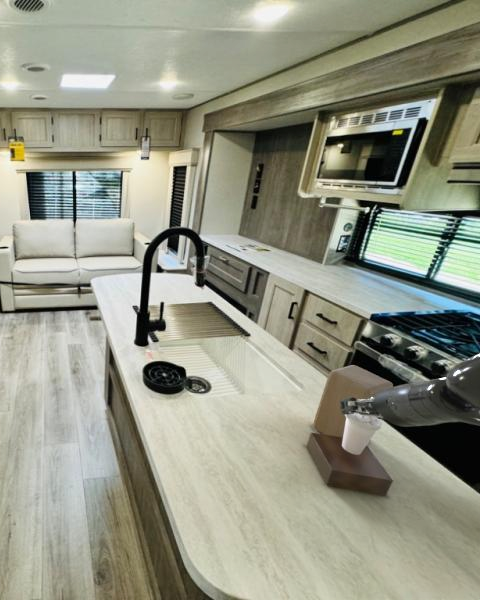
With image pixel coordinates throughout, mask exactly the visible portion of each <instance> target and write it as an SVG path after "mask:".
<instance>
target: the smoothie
mask: <svg viewBox="0 0 480 600" xmlns="http://www.w3.org/2000/svg"><path fill="white" fill-rule="evenodd" d="M366 412H367V410H366ZM367 413H369V412H367ZM345 416H346V423H345V429H344V435H343V441H342V447H343V448H344V449H345V450H346V451H348V452H350V453H352V454H355V455H359V454H361V453H362V451H363V450H364V448H365V447H366V445H367V446H368V444H369V443H370V442H371V439H372V438H373V436H374V435H375V434H376V432H377V431H379V430H381V427H382V425H383V423H382V420H381V419H378V418H377V417H376V416H363V415H360V414H348V415H345Z"/></svg>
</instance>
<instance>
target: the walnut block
mask: <svg viewBox="0 0 480 600" xmlns="http://www.w3.org/2000/svg"><path fill="white" fill-rule="evenodd" d="M342 441H343V437H337V436H330V435H324V434H322V433H316V432H310V434H309V437H308V440H307V442H306V443H307V444H306V449H307V451H308V452H309V454H310V456H311V458H312V460H313V462H314V464H315V466H316V468H317V470H318V471H319V473H320V475H321V477H322V479H323V481H324V482H325V485H326V486H330V487H336V488H340V489H347V490H351V491H357V492H363V493H368V494H373V495H378V496H385V497H387V494H388V492H389V490H390V488H391V486H392V484H393V482H394V480H393V478H392V477H391V476H390V474H389V473H388V472H387V471H386V469H385V468H384V467H383V465H382V464H381V463H380V461H379V460H378V459H377V457H376V455H374V453H373V452H372V450H371V449H370V448H369V446H368V444H367V445H366V447H365V448H364V450H363V451H362V453H361V454H359V455H355V454H352V453H350V452H348V451H346V450H345V449H344V448H343V447H342Z"/></svg>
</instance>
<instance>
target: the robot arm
mask: <svg viewBox="0 0 480 600" xmlns="http://www.w3.org/2000/svg"><path fill="white" fill-rule="evenodd" d="M340 404H341V406H340V410H341V412H342V414H345V415H348V414H360V415H363V416H376V417H377V418H378V419H379V420H385V421H387V422H388V423H390V424H393V425H395V426H398V427H405V428H407V427H409V428H410V427H422V426H437V425H440V424H449V423H450V424H451V423H466V424H469V425H475V426H478V427H480V352H479V353H476V354H474V355H473V356H471V357H469V358H466V359H464V360H462V361H460V362H458V363H457V364H455V365H453V366H452V367H451V368H450V369H449V370H448V371H447V373H446V375H445V377H441V378H439V377H438V378H435V379H429V380H425V381H421V382H410V383H409V382H408V383H404V384H399V385H395V386H393V387H390V388H386V389H383V390H381V391H380V392H378V394H377V395H376V397H375V398H370V399H358V400H357V399H356V398H354V397H351V398H347V399H343V400H340ZM366 410H367V411H368V412H370V413H367V412H366Z"/></svg>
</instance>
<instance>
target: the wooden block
mask: <svg viewBox="0 0 480 600" xmlns="http://www.w3.org/2000/svg"><path fill="white" fill-rule="evenodd" d="M390 387H394V384H393V383H392V382H391V381H389V380H387V379H385V378H383V377H380V376H379V375H376V374H374V373H373V372H370V371H368V370H367V369H364V368H362V367H359V366H358V365H355V364H351V365H347V366H343V367H340V368H337V369H333V370H331V371H330V372H328V375H327V379H326V382H325V386H324V389H323V391H322V394H321V398H320V401H319V404H318V407H317V410H316V414H315V416H314V420H313V423H312V427H313V428H314V429H315V430H317V431H318V432H319V433H320V434H323V435H330V436H337V437H343V435H344V429H345V423H346V416H345V414H342V412H341V410H340V406H341V404H340V400H343V399H347V398H351V397H354V398H356V399H357V400H358V399H370V398H375V397H376V395H377V394H378V392H380V391H381V390H383V389H386V388H390ZM367 412H368V411H367ZM369 413H370V412H369Z"/></svg>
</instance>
